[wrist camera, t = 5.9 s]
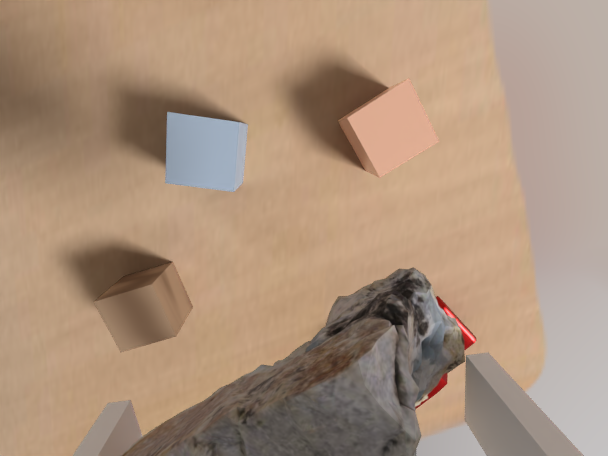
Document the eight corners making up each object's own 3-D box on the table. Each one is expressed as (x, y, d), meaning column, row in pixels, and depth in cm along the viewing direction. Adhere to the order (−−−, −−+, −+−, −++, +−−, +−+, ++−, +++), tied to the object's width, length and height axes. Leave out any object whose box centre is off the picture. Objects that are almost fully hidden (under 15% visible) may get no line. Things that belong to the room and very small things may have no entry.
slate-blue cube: (186, 175, 29) (165, 183, 24) (188, 116, 28) (167, 111, 23) (242, 182, 29) (233, 191, 24) (248, 124, 28) (239, 122, 23)
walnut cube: (145, 320, 33) (120, 352, 28) (123, 276, 31) (93, 301, 26) (193, 306, 32) (176, 336, 28) (173, 261, 31) (151, 284, 26)
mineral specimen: (335, 334, 18) (248, 185, 13) (507, 381, 13) (482, 168, 8) (227, 548, 13) (-9, 444, 7) (453, 776, 7) (225, 996, 2)
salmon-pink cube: (365, 170, 29) (379, 177, 25) (337, 120, 28) (347, 117, 23) (414, 140, 29) (439, 141, 24) (388, 88, 28) (409, 78, 23)
